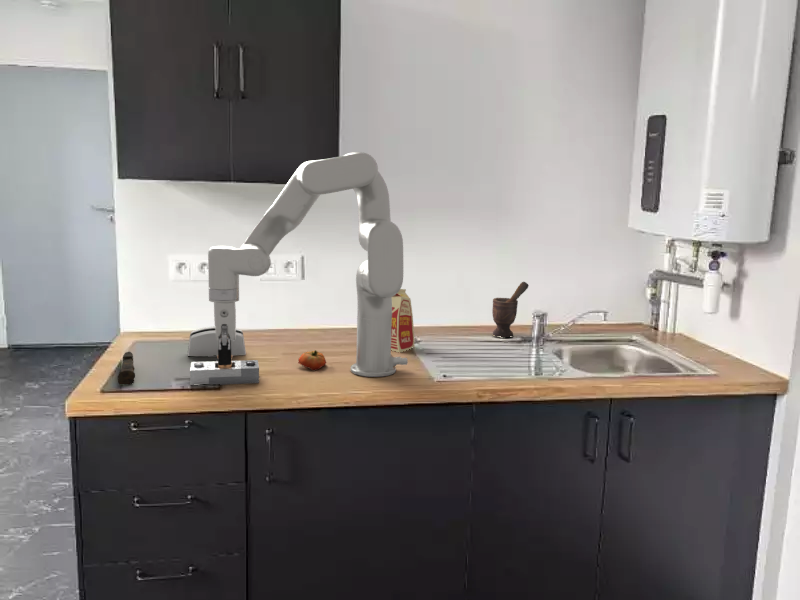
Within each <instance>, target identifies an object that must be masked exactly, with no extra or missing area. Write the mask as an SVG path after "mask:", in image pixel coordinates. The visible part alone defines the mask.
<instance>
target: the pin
mask: <svg viewBox="0 0 800 600" xmlns="http://www.w3.org/2000/svg"><path fill="white" fill-rule="evenodd" d="M216 357H217V359H218V355H217V356H216ZM232 359H233V356H232V355H231V365H218V368H230V367H232V361H233V360H232Z"/></svg>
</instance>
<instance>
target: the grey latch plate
mask: <svg viewBox="0 0 800 600" xmlns="http://www.w3.org/2000/svg"><path fill="white" fill-rule="evenodd" d="M189 376H190V377H189V378H190V379H189V380H190V381H189V383H190V384H189V385H194V384H220V385H219V386H221V385H222V386H223V385H241V384H245V385H247V384H259V383H260V366H259V360H258V359H251V360H249V359H248V360H247V359H246V360H232V367H230V368H218V360H216V361H191V363H190V368H189Z"/></svg>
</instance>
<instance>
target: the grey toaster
mask: <svg viewBox="0 0 800 600" xmlns="http://www.w3.org/2000/svg"><path fill="white" fill-rule="evenodd" d="M243 332H244V331H243V330H242V329H239V328H236V339H235V340H233V339H231V338H230V340H231V355H232V357H233V356H246V354H247V352H246V350H247V349H246V345H245V338H244V337H245V336H244V333H243ZM187 347H188V348H187V357H188V356H208V357H214V356H213V355H218V349H219V341H218V340H217V339H216V332H215V325H214V326H206V327H202V328H197V329H194V330H192V331H191V332H190V335H189V340H188V346H187Z"/></svg>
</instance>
